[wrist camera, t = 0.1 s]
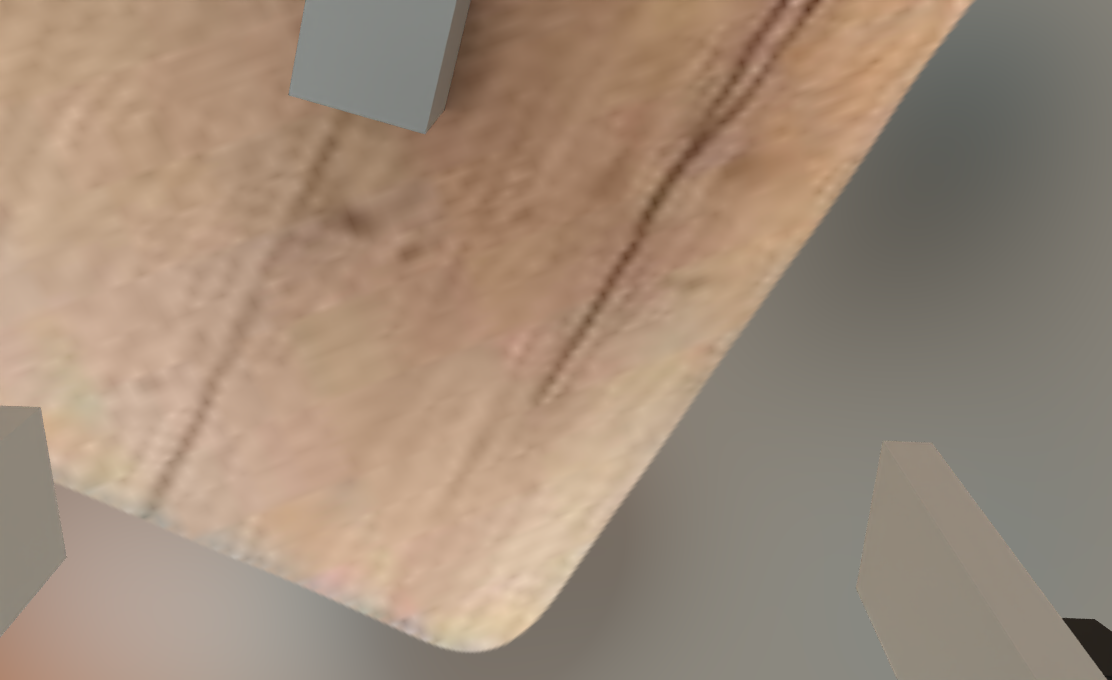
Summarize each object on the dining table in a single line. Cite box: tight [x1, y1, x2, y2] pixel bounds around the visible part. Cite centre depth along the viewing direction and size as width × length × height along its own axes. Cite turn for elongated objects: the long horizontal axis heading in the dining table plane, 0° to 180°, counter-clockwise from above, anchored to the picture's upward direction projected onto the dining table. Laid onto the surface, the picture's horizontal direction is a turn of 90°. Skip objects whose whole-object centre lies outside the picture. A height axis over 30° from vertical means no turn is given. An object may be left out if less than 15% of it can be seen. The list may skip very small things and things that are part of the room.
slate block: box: [289, 0, 471, 134], centre depth 37 cm, size 5×5×6 cm
